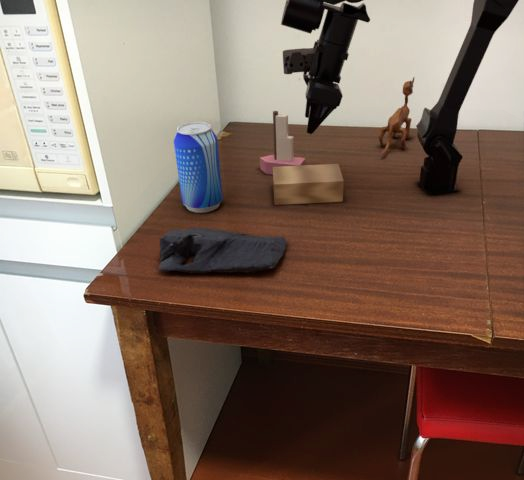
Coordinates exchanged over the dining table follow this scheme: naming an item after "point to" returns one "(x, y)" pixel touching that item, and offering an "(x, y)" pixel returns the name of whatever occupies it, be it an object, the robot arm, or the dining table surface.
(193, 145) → the beer can
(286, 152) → the toy boat
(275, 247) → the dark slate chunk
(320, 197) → the wood block
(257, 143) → the dining table surface
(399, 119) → the brown animal figurine
